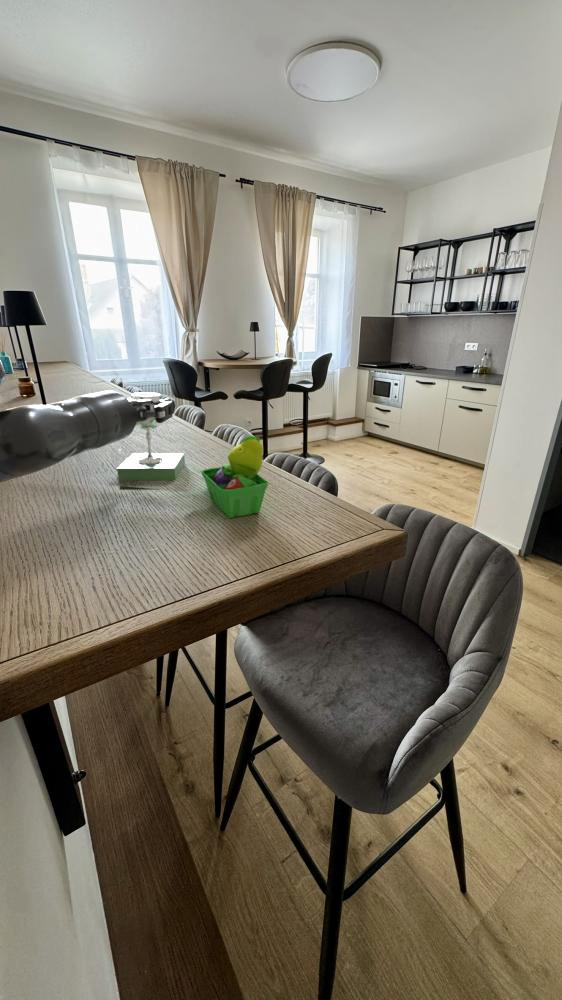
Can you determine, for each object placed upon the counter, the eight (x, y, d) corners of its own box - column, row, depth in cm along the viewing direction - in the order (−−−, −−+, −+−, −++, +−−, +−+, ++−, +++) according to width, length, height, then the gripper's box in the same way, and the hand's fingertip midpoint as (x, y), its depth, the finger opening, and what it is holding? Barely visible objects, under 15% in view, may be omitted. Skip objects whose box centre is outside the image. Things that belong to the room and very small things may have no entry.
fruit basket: (201, 498, 70) (196, 432, 66) (248, 490, 74) (247, 428, 70) (224, 523, 61) (220, 449, 56) (277, 513, 64) (278, 442, 60)
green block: (119, 489, 73) (116, 468, 72) (135, 472, 82) (132, 453, 81) (176, 489, 74) (174, 468, 72) (185, 472, 83) (184, 453, 82)
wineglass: (173, 459, 77) (169, 394, 73) (149, 466, 73) (144, 397, 68) (151, 454, 80) (146, 391, 76) (127, 460, 75) (121, 393, 71)
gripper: (138, 395, 57) (189, 383, 72) (48, 391, 60) (115, 381, 75) (144, 448, 60) (191, 426, 75) (58, 442, 62) (120, 422, 78)
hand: (153, 403), depth 75 cm, fingers closed on wineglass, 5 cm apart
